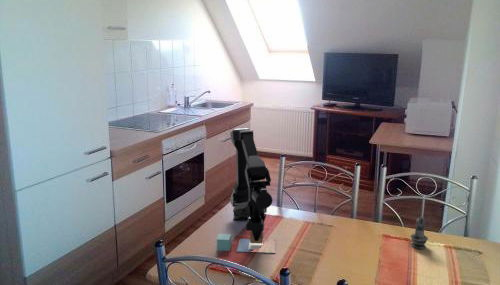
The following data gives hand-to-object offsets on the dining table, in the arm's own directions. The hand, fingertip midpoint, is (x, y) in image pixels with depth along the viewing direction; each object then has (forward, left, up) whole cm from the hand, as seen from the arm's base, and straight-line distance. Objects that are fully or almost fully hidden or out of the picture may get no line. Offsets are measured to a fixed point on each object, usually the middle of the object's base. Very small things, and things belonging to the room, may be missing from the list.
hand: (257, 237), depth 153 cm
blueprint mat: (0, 0, -3) cm, 3 cm away
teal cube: (+2, -12, -4) cm, 13 cm away
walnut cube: (0, 0, -1) cm, 1 cm away
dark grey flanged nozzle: (-5, +59, -4) cm, 59 cm away
